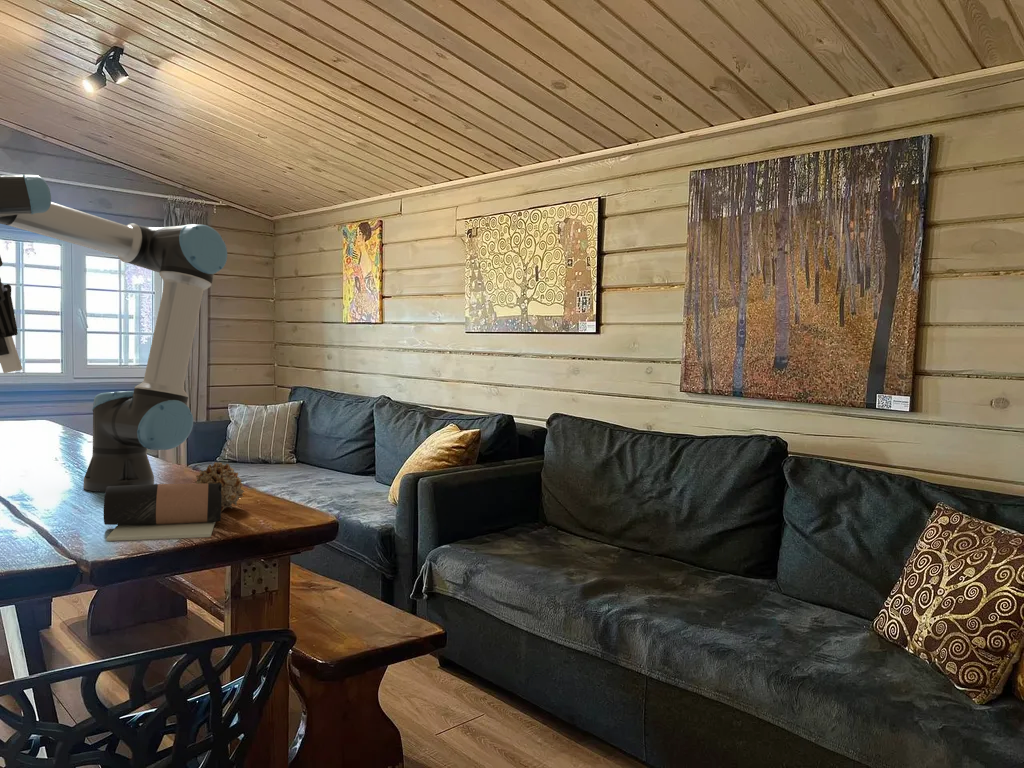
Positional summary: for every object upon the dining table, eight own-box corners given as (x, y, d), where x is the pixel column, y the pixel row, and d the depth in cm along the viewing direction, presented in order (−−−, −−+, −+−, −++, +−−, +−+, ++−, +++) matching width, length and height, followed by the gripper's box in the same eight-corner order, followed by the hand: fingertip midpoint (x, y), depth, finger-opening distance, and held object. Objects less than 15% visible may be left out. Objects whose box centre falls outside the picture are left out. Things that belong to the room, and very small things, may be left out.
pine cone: (185, 504, 161) (186, 459, 161) (230, 501, 167) (231, 457, 166) (214, 525, 143) (215, 475, 143) (263, 520, 149) (264, 471, 149)
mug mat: (106, 540, 129) (106, 537, 129) (120, 524, 142) (120, 521, 142) (210, 536, 135) (210, 533, 135) (215, 521, 147) (215, 518, 147)
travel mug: (107, 527, 139) (220, 523, 147) (102, 524, 133) (220, 520, 140) (109, 487, 141) (221, 485, 149) (105, 482, 134) (222, 480, 142)
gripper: (-27, 254, 142) (11, 372, 146) (-72, 251, 129) (-28, 380, 133) (13, 246, 143) (50, 363, 147) (-28, 242, 130) (15, 370, 134)
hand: (13, 371), depth 140 cm, fingers closed
